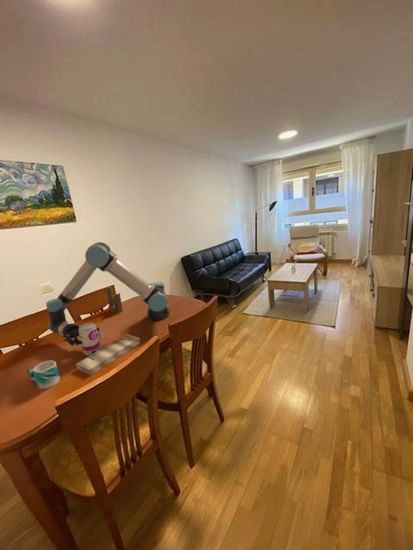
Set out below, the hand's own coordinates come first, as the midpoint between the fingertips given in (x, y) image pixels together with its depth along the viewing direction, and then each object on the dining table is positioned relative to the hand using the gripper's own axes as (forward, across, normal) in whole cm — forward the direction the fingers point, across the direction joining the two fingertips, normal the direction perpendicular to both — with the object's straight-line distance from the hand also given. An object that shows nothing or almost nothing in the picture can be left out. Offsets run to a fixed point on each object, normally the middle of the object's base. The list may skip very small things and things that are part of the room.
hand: (95, 339), depth 121 cm
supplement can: (-5, 0, -9) cm, 10 cm away
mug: (-4, +24, -9) cm, 26 cm away
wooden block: (-39, -42, -9) cm, 58 cm away
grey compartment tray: (+6, -3, -9) cm, 11 cm away
